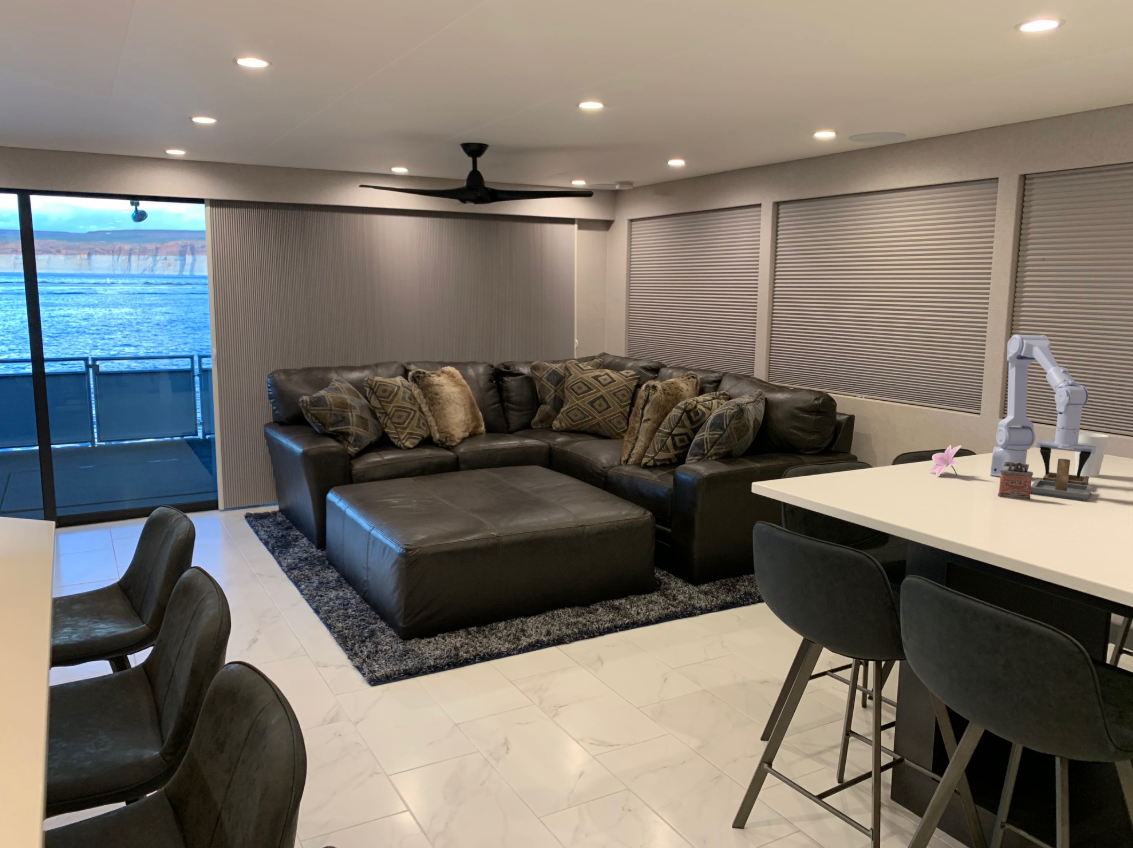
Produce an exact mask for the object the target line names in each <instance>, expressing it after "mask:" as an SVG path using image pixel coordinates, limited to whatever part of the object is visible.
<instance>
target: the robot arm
mask: <svg viewBox="0 0 1133 848" xmlns="http://www.w3.org/2000/svg"><path fill="white" fill-rule="evenodd" d="M1051 344H1052V343H1051V341H1050V340H1049V338H1048V336H1046V335H1045V334H1041V335H1034V334H1031V335H1028V334H1027V335H1025V334H1014V335H1012V336H1011V337H1010V338H1009V340H1008V341H1007V345H1006V346H1007V349H1006V352H1007V353H1006V361H1007V362H1008V375H1007V376H1008V377H1007V379H1008V381H1007V382H1008V383H1007V385H1008V386H1007V416H1006V417H1004V419H1002V420H1000V421H999V422H998V423H997V429H996V434H995V441H996V443H997V444H998V446H994V447H993V450H992V456H991V465H990V476H992V477H993V476H994V477H1001V473H1000V470H1001V469H1008V468H1009V467H1007V466H1004V462H1014V463H1016V462H1021V463H1022V464H1027V456H1028V455H1027V454H1028V450H1030V449H1031V447H1032V446H1033V445H1034V444H1035V442H1036V446H1035V447H1036V448H1037V449H1039V452H1040V455H1041V457H1042V458H1041V459H1042V461H1043V463H1044V469H1045V474H1049V472H1050V466H1051V465H1050V464H1051V455H1052V450H1059V451H1068V452H1075V451H1076V452H1081V453H1080V455H1079V466H1078V471H1077V477H1076V478H1080V474H1081V471H1082V468H1083V466H1084V464H1085V463H1086V461H1087V459H1088V458H1089V457H1090V455H1091V454H1095V453H1096V446H1089V445H1082V444H1078V439H1079V432H1080V428H1081V421H1082V420H1081V418H1082V413H1083V407H1084V406H1085V405H1086V404H1087V403H1088V401H1089V391H1088V389H1087V387H1086V386H1084V385H1081V384H1080V383H1077V382H1076V381H1075V380H1074V378H1073V377H1072V376H1071V375H1072V374H1071V373H1070V372H1069V371H1068V368H1067V367H1064V366H1059V364H1058V362H1057V359H1055V357H1054V355H1053V353H1052V352H1051ZM1036 361H1037V362H1038V364H1039V365H1040V366H1041V368H1042V369H1043V370H1044V371H1045V372H1046V375H1045V379H1046V381H1047V383H1048V384H1049V386H1050V387H1051V389H1052V390H1053V391H1054V393H1055V394H1054V401H1055V404H1056V408H1055V409H1056V412H1057V417H1056V419H1057V420H1056V426H1055V437H1054V441H1052V440H1051V441H1050V440H1036V432H1035V429H1034V426H1035V425H1034V423H1033V422H1032V421H1031V420H1030V419H1029V418H1028V417H1027V410H1028V409H1027V407H1028V406H1027V405H1028V374H1029V373H1028V372H1029V366H1030V365H1031V364H1032V363H1034V362H1036ZM1077 449H1078V450H1077ZM1011 468H1012V470H1013V468H1014V467H1011ZM1023 470H1024V468H1023ZM1024 471H1025V470H1024ZM1045 474H1044V475H1045Z"/></svg>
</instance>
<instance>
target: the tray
mask: <svg viewBox="0 0 1133 848" xmlns="http://www.w3.org/2000/svg"><path fill="white" fill-rule="evenodd" d="M1055 483H1056V482H1054V481H1046V480H1043V479H1037V478H1036V479H1035V480H1034V482H1033V483H1032V484H1031V489H1030V495H1034V496H1042V497H1050V498H1058V499H1064V500H1065V499H1066V500H1073V501H1080V502H1086V503H1087V502H1088V501H1089V499H1090V496H1091V494H1092V485H1088V486H1086V485H1078V484H1070V483H1068V485H1067V491H1062V490H1055Z"/></svg>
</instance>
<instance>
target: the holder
mask: <svg viewBox="0 0 1133 848" xmlns="http://www.w3.org/2000/svg"><path fill="white" fill-rule="evenodd" d="M1056 474H1057V472H1051V471H1049V474H1044V476H1043V477H1042V480H1046V481H1054V482H1056ZM1076 477H1077V475H1076V474H1075V475H1074V474H1069V476H1068V483H1070V484H1078V485H1086V486H1089V479H1090V477H1086V476H1080V478H1076Z"/></svg>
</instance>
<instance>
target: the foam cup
mask: <svg viewBox="0 0 1133 848" xmlns="http://www.w3.org/2000/svg"><path fill="white" fill-rule="evenodd" d="M1109 437H1110V436H1109V435H1107V434H1102V433H1096V432H1095V433H1094V432H1086V431H1085V432H1083V431H1082V432H1080V431H1079V439H1078V444H1082V445H1089V446H1096V453H1095V454H1091V455H1090V457H1089V458H1088V459H1087V461H1086V463H1085V464H1084V466H1083V468H1082V471H1081V474H1080V475H1081V476H1085V477H1086V476H1087V477H1089V478H1097V477H1096V476H1098V477H1099V475H1100V472H1101V468H1102V463H1103V461H1104V456H1105V454H1106V453H1105V452H1106V451H1107V446H1108V444H1109V439H1110V438H1109ZM1077 450H1078V449H1077ZM1080 453H1081V452H1076V451H1074V469H1075V471H1074V473H1075V475H1077V471H1078V466H1079V455H1080Z"/></svg>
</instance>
